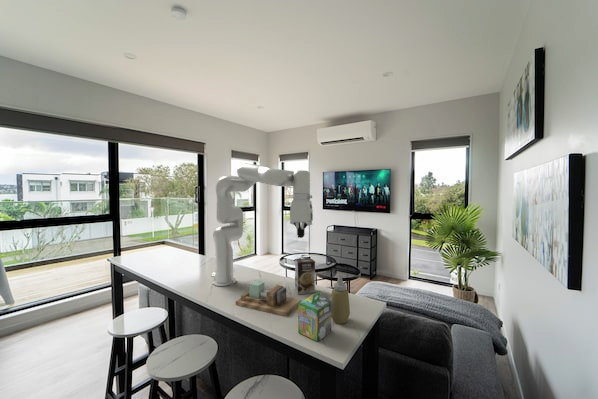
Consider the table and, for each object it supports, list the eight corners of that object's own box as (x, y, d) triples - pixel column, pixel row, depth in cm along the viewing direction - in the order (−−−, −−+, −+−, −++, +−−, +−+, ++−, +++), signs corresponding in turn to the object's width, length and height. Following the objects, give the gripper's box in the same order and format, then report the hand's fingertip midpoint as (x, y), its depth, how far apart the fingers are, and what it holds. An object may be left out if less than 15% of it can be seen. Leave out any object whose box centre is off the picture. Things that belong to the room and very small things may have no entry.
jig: (235, 304, 115) (235, 288, 115) (253, 293, 128) (253, 278, 127) (286, 316, 104) (286, 298, 104) (300, 302, 117) (300, 286, 117)
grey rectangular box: (259, 300, 114) (259, 288, 114) (266, 295, 120) (266, 284, 120) (279, 305, 110) (279, 292, 110) (286, 299, 115) (286, 287, 115)
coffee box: (297, 294, 126) (297, 262, 125) (294, 289, 132) (294, 259, 132) (315, 292, 128) (315, 261, 128) (311, 288, 135) (311, 257, 134)
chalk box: (312, 323, 99) (312, 285, 99) (332, 331, 93) (332, 291, 93) (297, 333, 92) (297, 292, 92) (317, 343, 86) (317, 299, 86)
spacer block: (249, 298, 117) (249, 283, 117) (255, 294, 122) (255, 280, 121) (258, 300, 115) (258, 285, 115) (264, 296, 120) (264, 281, 119)
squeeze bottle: (347, 315, 105) (347, 272, 105) (352, 325, 97) (352, 279, 97) (328, 315, 105) (328, 272, 104) (331, 325, 97) (331, 279, 96)
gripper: (319, 197, 117) (318, 237, 118) (290, 197, 123) (289, 234, 124) (313, 198, 110) (312, 240, 111) (283, 197, 117) (282, 237, 117)
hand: (300, 237), depth 118 cm, fingers closed
